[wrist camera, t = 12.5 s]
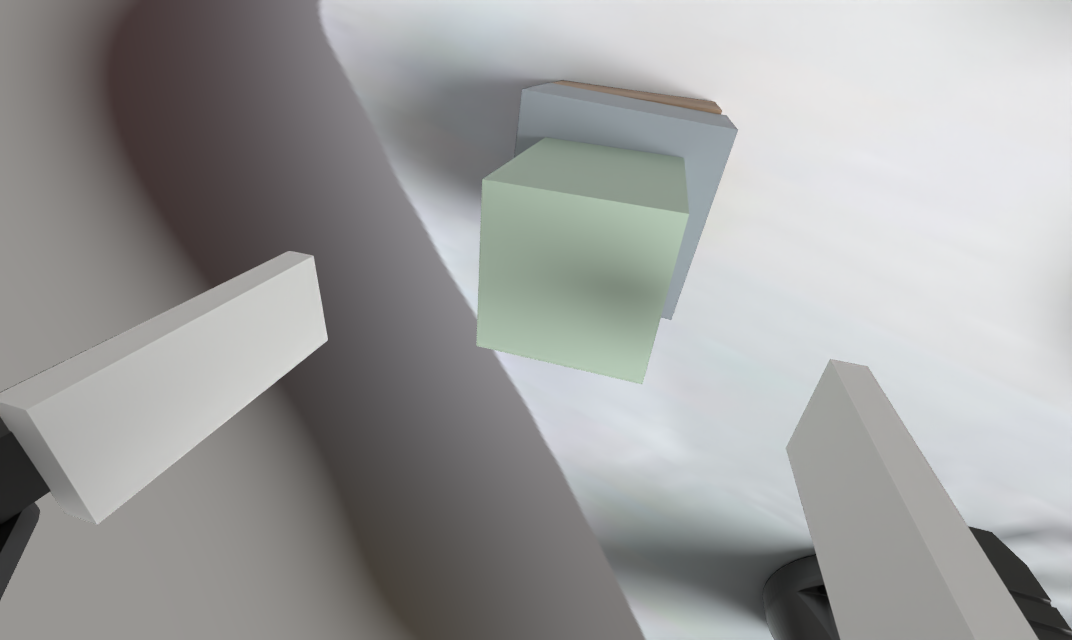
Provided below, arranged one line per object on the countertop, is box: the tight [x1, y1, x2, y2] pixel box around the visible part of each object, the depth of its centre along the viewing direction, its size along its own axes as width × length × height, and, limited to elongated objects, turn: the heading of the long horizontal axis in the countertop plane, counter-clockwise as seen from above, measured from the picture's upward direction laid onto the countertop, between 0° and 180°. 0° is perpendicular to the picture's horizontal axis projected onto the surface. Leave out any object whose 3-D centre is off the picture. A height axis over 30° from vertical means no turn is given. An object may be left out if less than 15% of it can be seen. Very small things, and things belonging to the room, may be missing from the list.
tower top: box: [514, 83, 738, 320], centre depth 23 cm, size 9×9×5 cm
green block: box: [477, 137, 689, 384], centre depth 18 cm, size 6×6×8 cm
